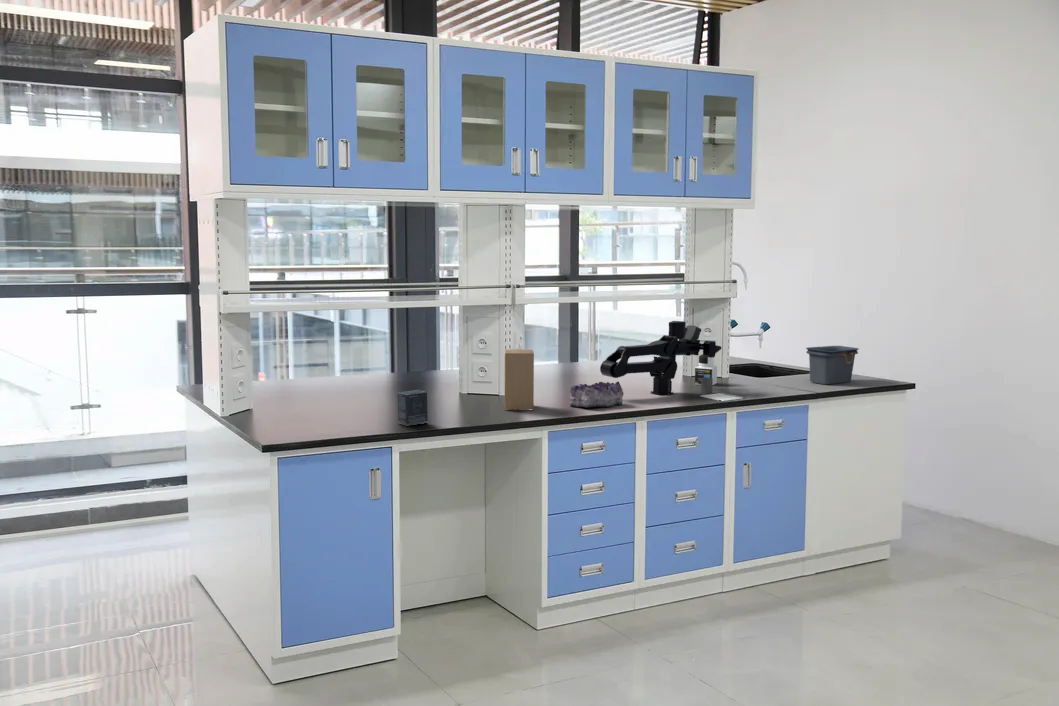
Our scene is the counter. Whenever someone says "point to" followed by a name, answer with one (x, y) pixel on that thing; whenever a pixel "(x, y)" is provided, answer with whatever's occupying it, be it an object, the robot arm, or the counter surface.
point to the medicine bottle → (705, 369)
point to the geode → (596, 395)
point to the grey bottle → (706, 384)
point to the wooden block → (519, 379)
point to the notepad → (723, 396)
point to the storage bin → (831, 364)
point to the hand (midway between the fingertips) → (712, 346)
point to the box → (412, 406)
